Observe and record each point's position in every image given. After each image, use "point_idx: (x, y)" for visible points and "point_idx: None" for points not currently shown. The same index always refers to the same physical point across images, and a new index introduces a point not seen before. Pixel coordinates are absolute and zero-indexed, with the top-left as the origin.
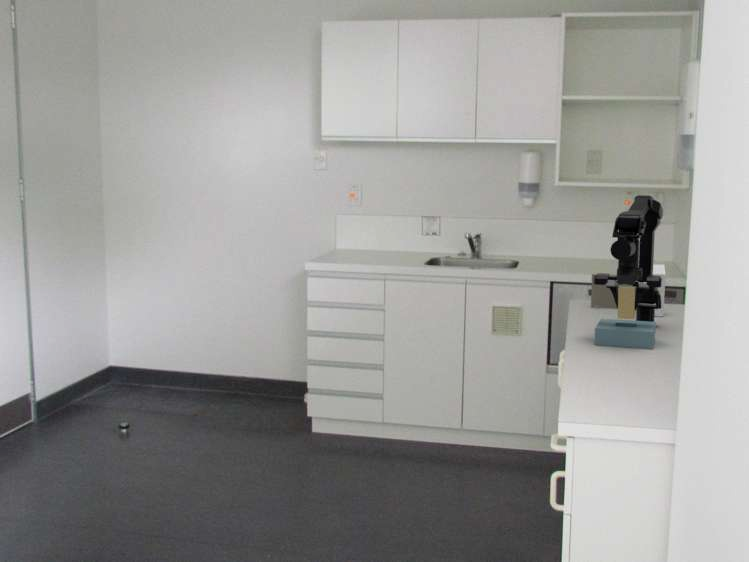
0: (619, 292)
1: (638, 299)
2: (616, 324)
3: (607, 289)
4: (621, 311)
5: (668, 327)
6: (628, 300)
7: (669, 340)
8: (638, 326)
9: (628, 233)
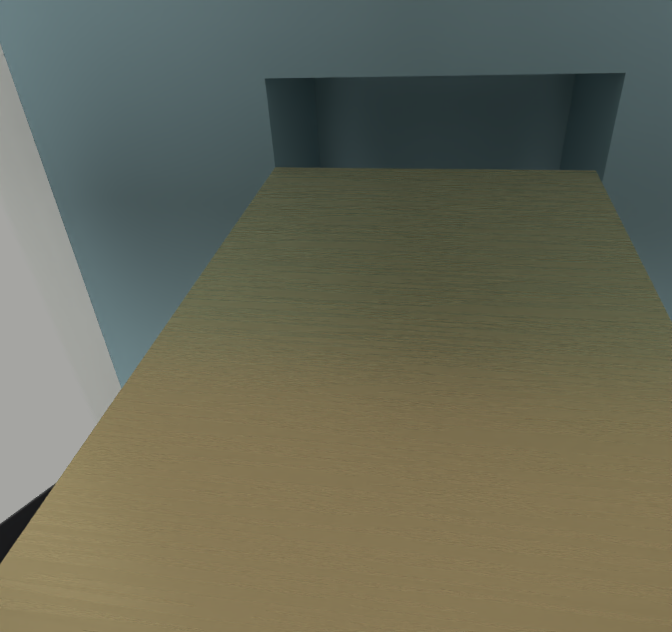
0: None
1: (17, 538)
2: None
3: None
4: (532, 241)
5: None
6: (311, 447)
7: (91, 316)
8: (247, 179)
9: None
